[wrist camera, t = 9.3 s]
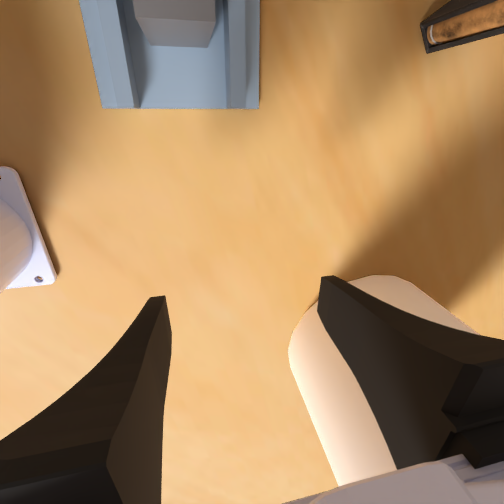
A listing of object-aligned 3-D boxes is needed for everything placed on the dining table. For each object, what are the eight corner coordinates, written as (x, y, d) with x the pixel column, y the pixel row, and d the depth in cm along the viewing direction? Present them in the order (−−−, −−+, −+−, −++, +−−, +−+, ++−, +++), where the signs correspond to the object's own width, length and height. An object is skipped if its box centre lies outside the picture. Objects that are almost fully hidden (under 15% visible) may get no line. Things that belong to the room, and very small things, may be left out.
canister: (424, 250, 26) (905, 528, 9) (424, 355, 34) (677, 612, 16) (269, 314, 26) (445, 746, 8) (306, 406, 33) (436, 726, 16)
